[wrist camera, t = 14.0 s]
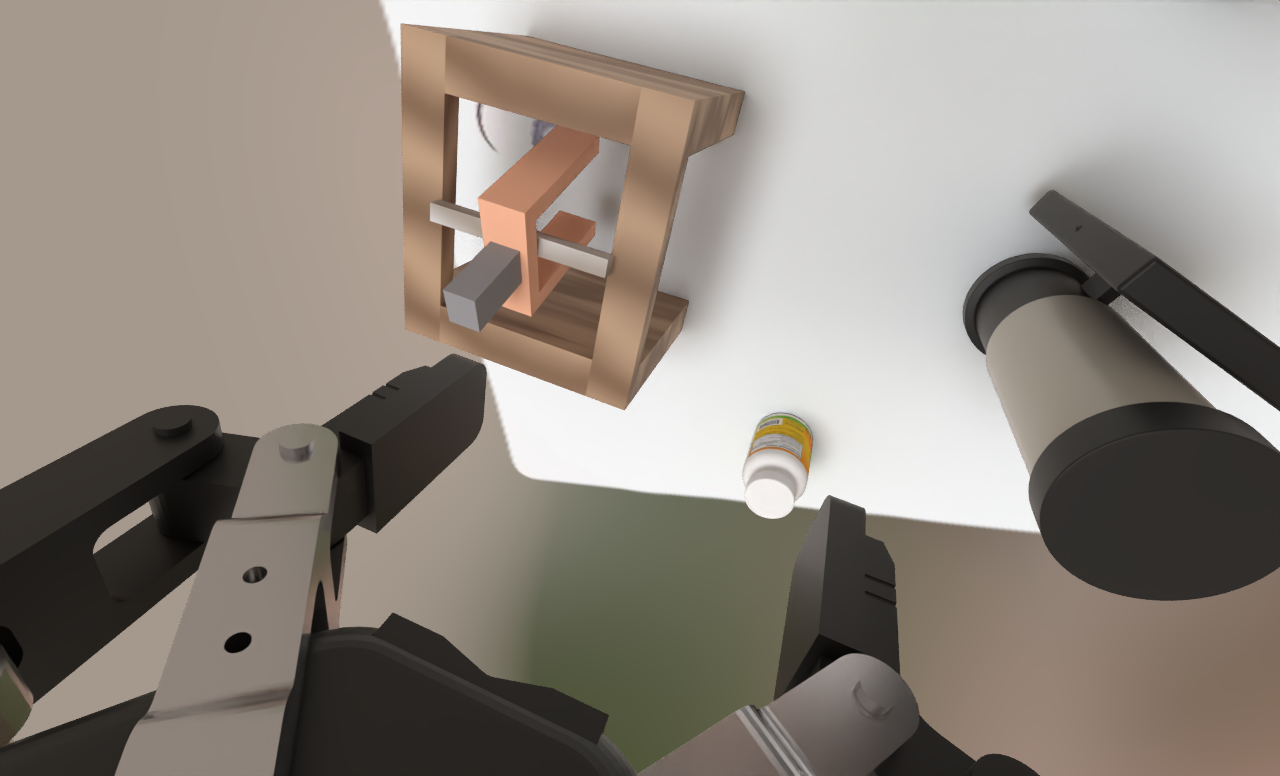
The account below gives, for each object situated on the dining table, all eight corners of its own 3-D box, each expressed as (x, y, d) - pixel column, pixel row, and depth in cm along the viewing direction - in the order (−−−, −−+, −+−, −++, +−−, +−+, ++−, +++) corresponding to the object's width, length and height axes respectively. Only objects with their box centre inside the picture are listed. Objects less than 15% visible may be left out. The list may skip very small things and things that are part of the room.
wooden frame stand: (526, 35, 46) (388, 22, 33) (744, 91, 43) (690, 101, 30) (506, 272, 57) (396, 334, 43) (681, 330, 54) (619, 417, 40)
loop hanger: (559, 123, 40) (425, 245, 30) (599, 135, 39) (476, 263, 30) (560, 223, 46) (449, 350, 37) (595, 235, 45) (491, 367, 36)
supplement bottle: (797, 469, 56) (786, 536, 48) (745, 445, 57) (725, 507, 49) (823, 427, 53) (815, 491, 45) (768, 402, 54) (751, 460, 46)
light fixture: (917, 302, 46) (958, 491, 25) (1040, 181, 40) (1224, 300, 19) (1041, 393, 46) (1182, 655, 25) (1182, 286, 40) (1517, 516, 19)
